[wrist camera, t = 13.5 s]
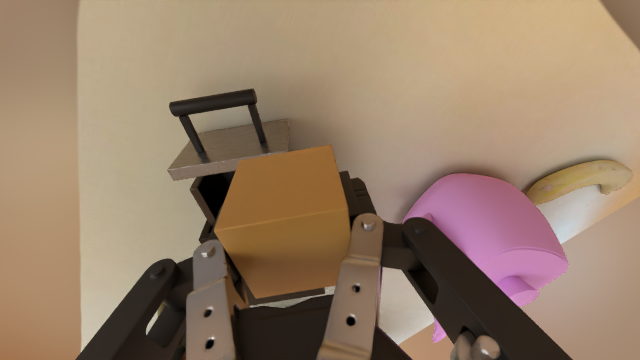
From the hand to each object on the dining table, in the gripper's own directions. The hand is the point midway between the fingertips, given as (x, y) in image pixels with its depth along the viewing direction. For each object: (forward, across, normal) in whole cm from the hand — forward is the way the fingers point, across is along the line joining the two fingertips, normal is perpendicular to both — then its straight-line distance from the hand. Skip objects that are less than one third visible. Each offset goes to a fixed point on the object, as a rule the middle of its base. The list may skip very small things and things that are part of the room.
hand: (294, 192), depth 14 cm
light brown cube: (0, 0, 0) cm, 0 cm away
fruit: (+16, -40, +20) cm, 47 cm away
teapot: (+16, -21, +22) cm, 34 cm away
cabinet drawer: (+15, +6, +5) cm, 17 cm away
